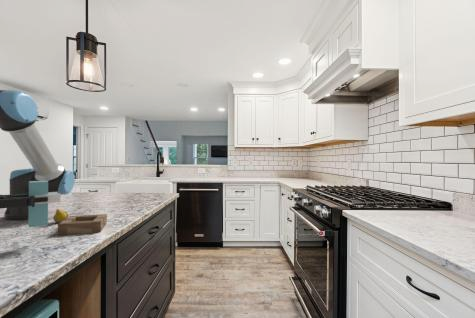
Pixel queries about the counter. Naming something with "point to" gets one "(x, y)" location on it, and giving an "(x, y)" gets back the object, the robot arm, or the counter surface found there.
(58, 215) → the yellow grooved cone
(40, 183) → the teal peg
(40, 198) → the robot arm
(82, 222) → the block
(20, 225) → the counter surface
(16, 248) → the counter surface
